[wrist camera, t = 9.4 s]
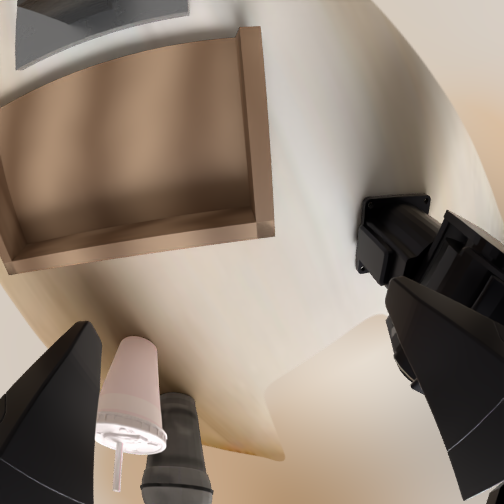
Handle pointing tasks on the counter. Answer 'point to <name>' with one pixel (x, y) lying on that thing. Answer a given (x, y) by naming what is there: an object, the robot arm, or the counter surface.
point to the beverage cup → (177, 457)
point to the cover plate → (81, 23)
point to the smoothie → (131, 404)
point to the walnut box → (138, 157)
